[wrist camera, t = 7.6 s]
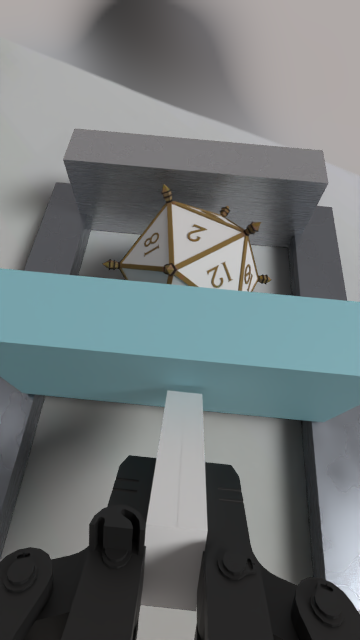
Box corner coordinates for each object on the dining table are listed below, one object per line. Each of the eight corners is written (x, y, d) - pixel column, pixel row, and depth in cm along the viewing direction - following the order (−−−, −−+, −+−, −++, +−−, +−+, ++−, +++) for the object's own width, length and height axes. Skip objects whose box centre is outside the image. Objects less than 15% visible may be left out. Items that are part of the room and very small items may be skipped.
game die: (163, 317, 27) (113, 189, 22) (274, 295, 25) (245, 146, 20) (136, 401, 19) (52, 233, 15) (292, 379, 17) (252, 172, 12)
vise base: (-65, 559, 16) (-178, 589, 11) (61, 197, 27) (36, 125, 22) (379, 604, 16) (485, 658, 11) (323, 221, 27) (362, 153, 22)
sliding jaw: (23, 393, 18) (-55, 336, 12) (38, 341, 20) (-24, 266, 13) (323, 422, 18) (409, 380, 12) (317, 368, 19) (391, 304, 13)
